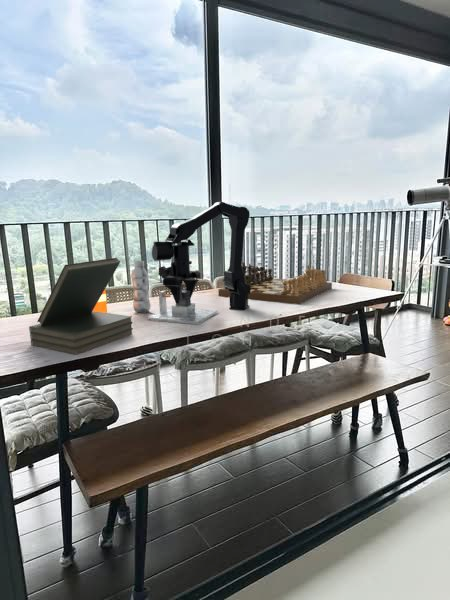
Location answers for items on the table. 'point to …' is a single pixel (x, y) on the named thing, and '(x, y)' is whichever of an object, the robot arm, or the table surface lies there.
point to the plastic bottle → (140, 288)
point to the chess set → (282, 285)
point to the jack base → (180, 312)
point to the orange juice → (101, 304)
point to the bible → (79, 310)
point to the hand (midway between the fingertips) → (183, 300)
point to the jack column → (184, 298)
